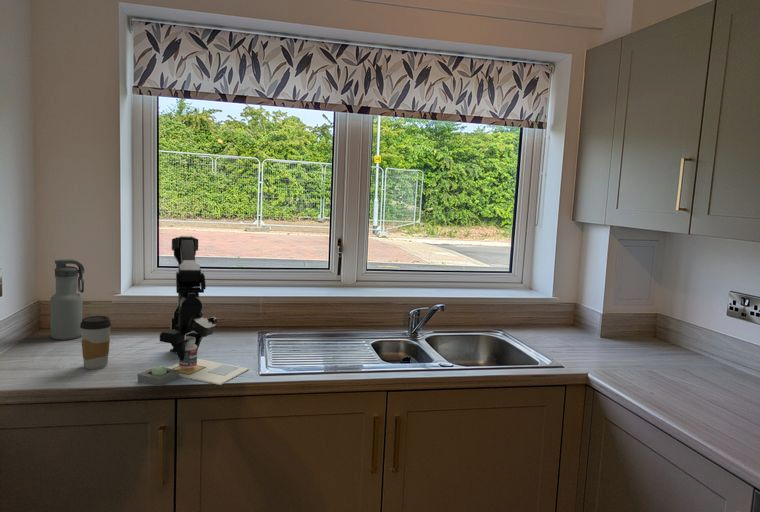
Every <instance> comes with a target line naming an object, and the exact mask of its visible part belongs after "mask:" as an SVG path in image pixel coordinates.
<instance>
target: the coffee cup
mask: <svg viewBox="0 0 760 512" xmlns="http://www.w3.org/2000/svg"><path fill="white" fill-rule="evenodd" d="M80 324H81V325H80V328H81V348H82V349H81V350H82V359H83V367H84V368H85V369H86V370H99V369H104V368H106V367H107V366H108V363H109V362H108V361H109V354H110V353H109V352H110V342H111V341H110V338H111V337H110V336H111V326H112V322H111V320H110V317H109V316H106V315H93V316H92V315H91V316H86V317H82V322H81V323H80Z"/></svg>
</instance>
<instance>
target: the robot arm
mask: <svg viewBox="0 0 760 512" xmlns="http://www.w3.org/2000/svg"><path fill="white" fill-rule="evenodd" d="M198 250H199V239H198V238H196V237H195V236H192V235H180V236H177V237H173V238H172V239H171V251H173V257H174V259H175V260H176V262H177V263H178V264H177V266H178V269H177V270H178V271H176V272H175V289H176V294H177V295H178V296H177V297H178V299H177V307H176V308H175V310H174V311H173V314H172V316H173V317H171V318H170V329H167V330H164V331H161V333H159V342H162V343H165V344H166V343H167V344H171V346H172V348H171V349H169V352H172V353H175V354H176V355H177V357H178V360H179V359H180V360H181V361H183V360H184V355H185V345H186V344H187V342H188V341H189V340H186V337H187V336H191V337H195V343H194V344H196V345H197V351H198V350H199V347H200V344H201V342H202V341H203V340H202V339H204V338H205V337H207V336H210V335H213V334H214V331H215V330H216V329H218V318H217V317H215V316H211V317H210V318H208V317H206V318H205V317H203V313H202V310H203V303H202V302H201V299H200V294H203V293H205V290H206V287H207V285H206V275H204V272H203V271H202V270H201V265H200V264H199V263H197V262H196V255H197V252H198Z"/></svg>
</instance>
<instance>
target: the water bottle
mask: <svg viewBox="0 0 760 512" xmlns="http://www.w3.org/2000/svg"><path fill="white" fill-rule="evenodd" d="M54 264H55V268H54V278H55V293H54V294H53V295H52V296H51V297H50V299H49V300H50V337H51V338H52V339H54V340H57V341H67V340H69V341H70V340H74V339H78V338H80V337H82V335H81V328H80V325H81V324H80V323H81V322H82V319H83V296H82V294H80V293H84V291H85V282H84V281H85V280H84V278H83V274H85V268H84V265H83V264H82V263H81V262H79V260H78V261H77V260H75V259H69V258H68V259H55V260H54ZM68 265H69V266H68ZM70 265H76V266H77V267H76V266H70ZM78 292H80V293H78Z"/></svg>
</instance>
